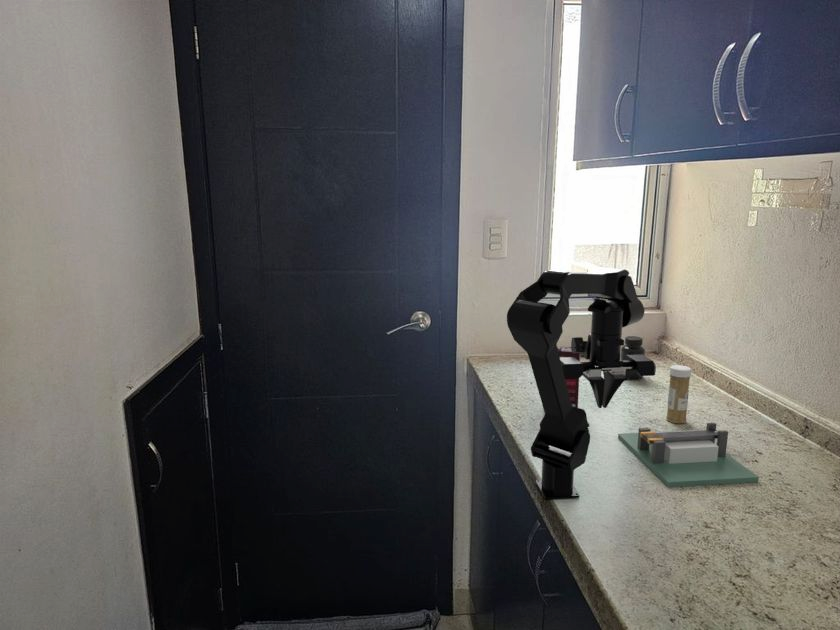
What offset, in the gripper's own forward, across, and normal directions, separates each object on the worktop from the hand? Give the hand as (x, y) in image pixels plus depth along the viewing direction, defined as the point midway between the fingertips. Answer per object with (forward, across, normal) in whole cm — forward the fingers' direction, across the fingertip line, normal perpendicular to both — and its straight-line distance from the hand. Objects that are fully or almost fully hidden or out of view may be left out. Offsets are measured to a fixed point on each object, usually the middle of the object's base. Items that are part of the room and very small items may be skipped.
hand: (601, 407), depth 115 cm
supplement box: (+12, -2, -30) cm, 32 cm away
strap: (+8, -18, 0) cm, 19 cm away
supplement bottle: (+12, -31, -52) cm, 62 cm away
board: (+12, -18, 0) cm, 22 cm away
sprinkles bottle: (+12, -27, -19) cm, 35 cm away
